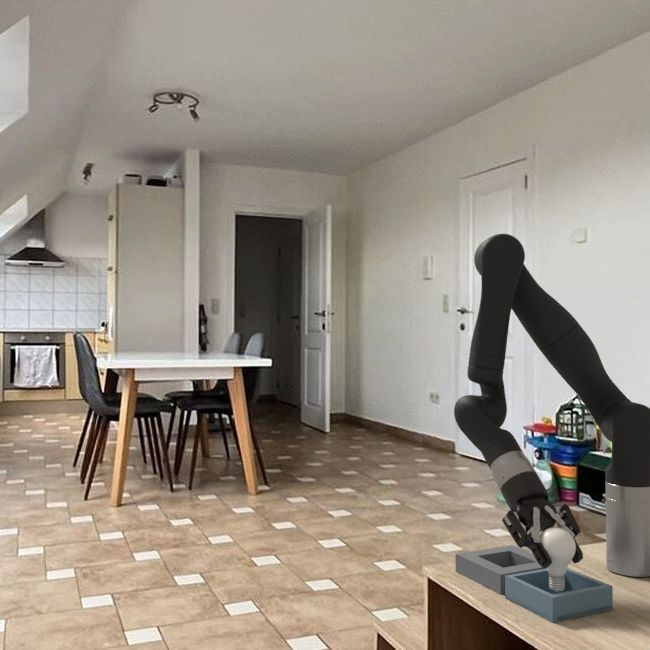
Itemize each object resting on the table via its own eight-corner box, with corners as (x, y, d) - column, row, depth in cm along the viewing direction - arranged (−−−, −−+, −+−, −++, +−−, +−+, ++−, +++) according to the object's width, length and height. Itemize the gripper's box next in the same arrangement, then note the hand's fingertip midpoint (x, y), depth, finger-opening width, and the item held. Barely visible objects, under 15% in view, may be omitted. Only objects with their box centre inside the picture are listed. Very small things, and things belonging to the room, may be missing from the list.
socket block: (512, 562, 148) (512, 545, 148) (560, 583, 135) (560, 564, 135) (455, 571, 142) (455, 553, 142) (500, 594, 129) (500, 574, 129)
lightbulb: (578, 599, 121) (578, 533, 121) (539, 596, 122) (539, 531, 122) (573, 586, 127) (573, 523, 127) (536, 583, 128) (535, 522, 128)
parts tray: (562, 587, 132) (562, 565, 133) (612, 609, 122) (612, 586, 122) (505, 598, 127) (505, 575, 127) (552, 622, 116) (552, 597, 116)
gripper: (495, 472, 129) (541, 557, 118) (558, 466, 135) (607, 546, 124) (477, 496, 133) (520, 580, 122) (538, 489, 139) (584, 568, 128)
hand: (563, 563), depth 123 cm, fingers closed on lightbulb, 6 cm apart
